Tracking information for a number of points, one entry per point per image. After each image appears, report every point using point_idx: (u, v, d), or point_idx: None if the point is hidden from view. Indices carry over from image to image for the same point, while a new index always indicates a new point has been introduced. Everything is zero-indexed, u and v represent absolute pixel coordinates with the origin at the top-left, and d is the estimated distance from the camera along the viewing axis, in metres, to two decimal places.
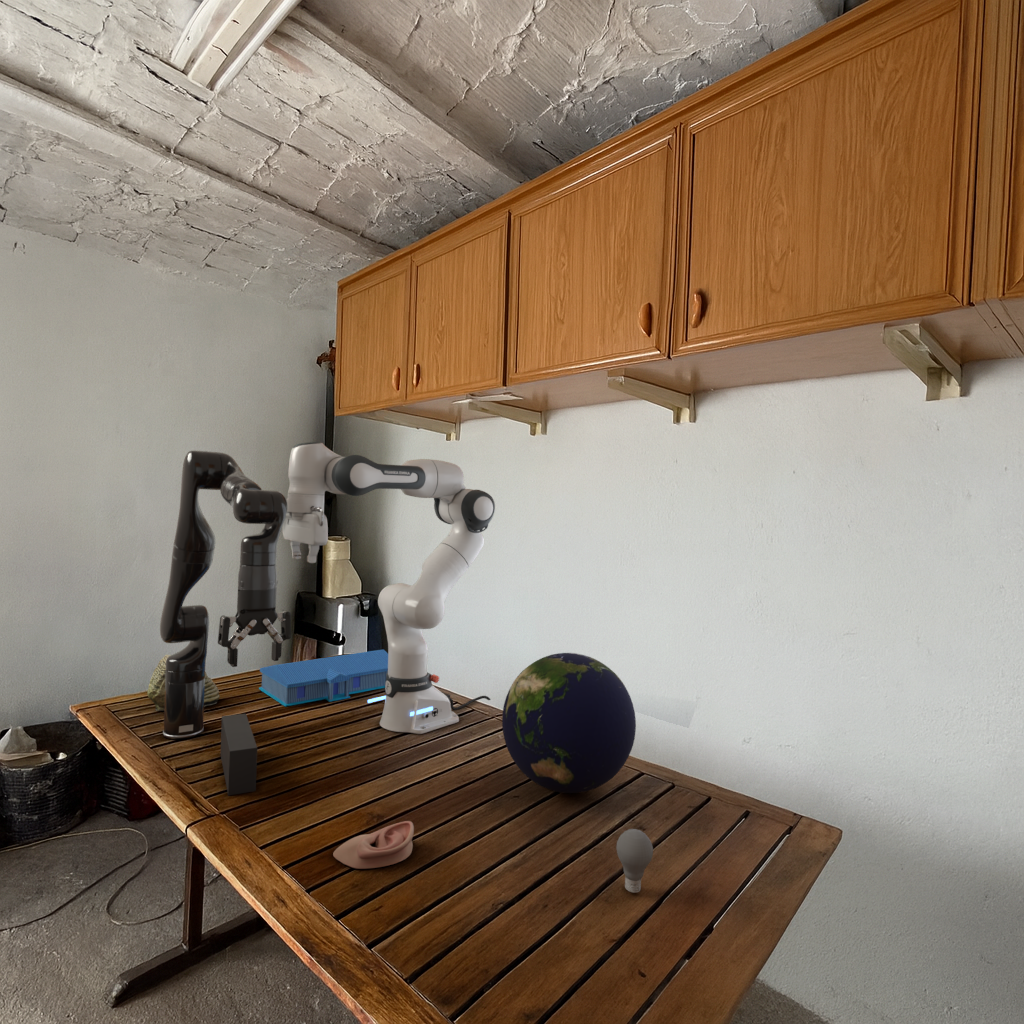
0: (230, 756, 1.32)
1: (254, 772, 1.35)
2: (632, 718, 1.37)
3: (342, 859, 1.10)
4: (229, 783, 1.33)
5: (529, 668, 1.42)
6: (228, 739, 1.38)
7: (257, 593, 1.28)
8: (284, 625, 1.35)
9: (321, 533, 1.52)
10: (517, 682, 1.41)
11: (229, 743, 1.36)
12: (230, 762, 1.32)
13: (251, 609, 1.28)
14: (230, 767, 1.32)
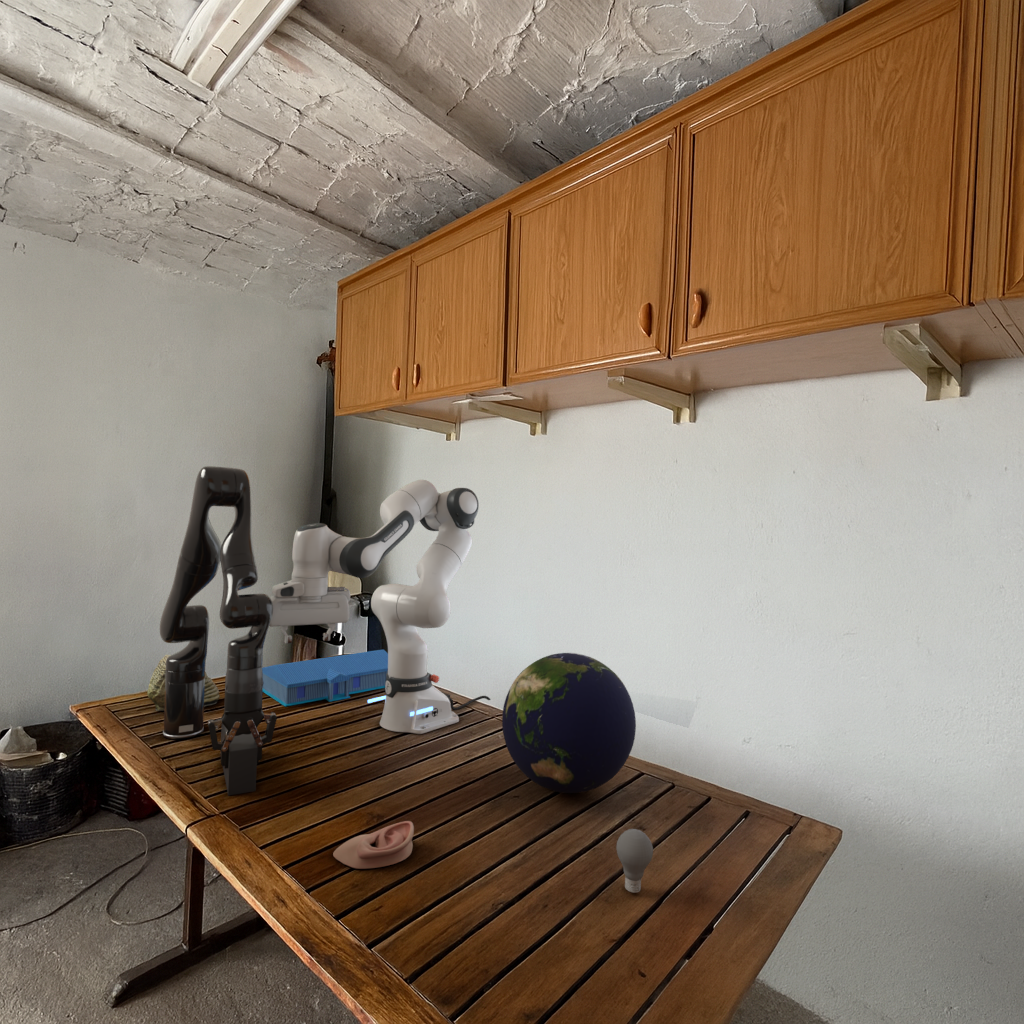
0: (230, 756, 1.32)
1: (254, 772, 1.35)
2: (632, 718, 1.37)
3: (342, 859, 1.10)
4: (229, 783, 1.33)
5: (529, 668, 1.42)
6: None
7: (239, 697, 1.33)
8: (268, 728, 1.38)
9: None
10: (517, 682, 1.41)
11: None
12: (230, 762, 1.32)
13: (233, 712, 1.33)
14: (230, 767, 1.32)
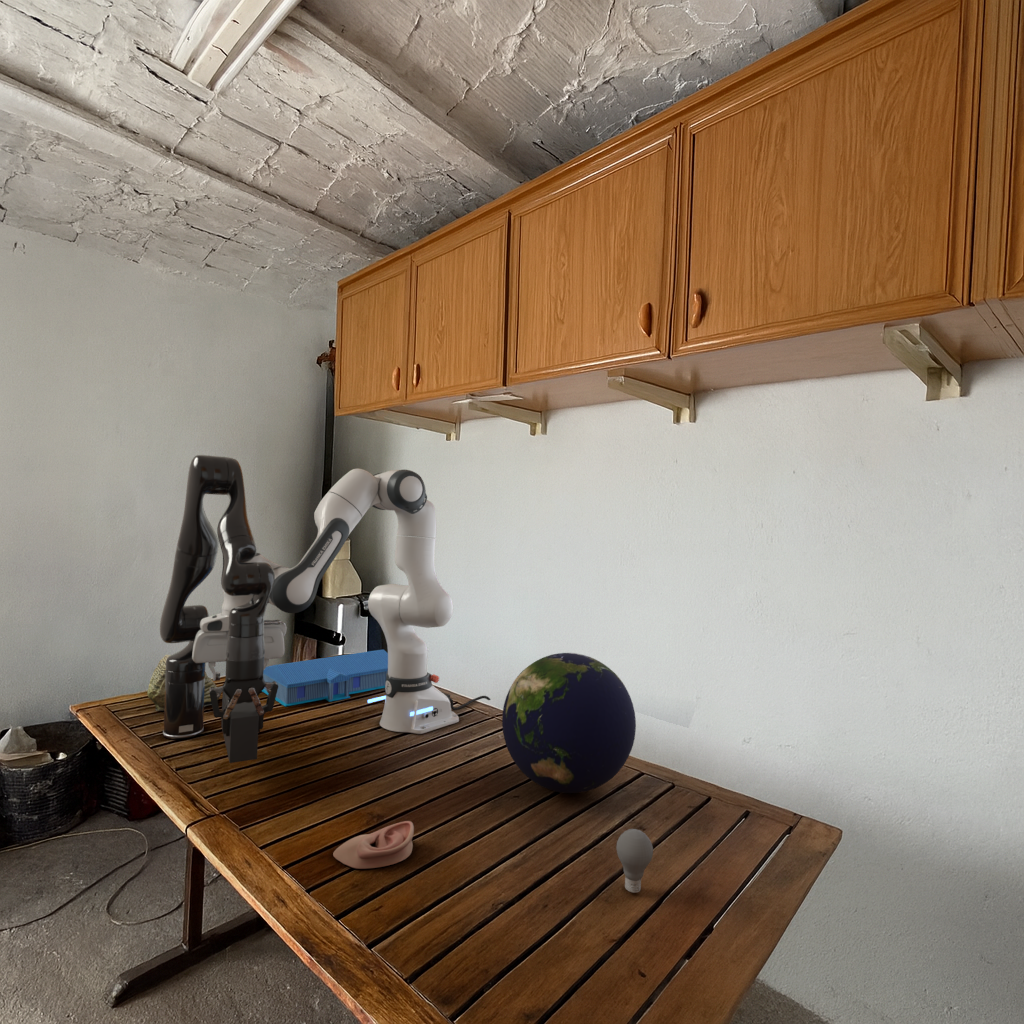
0: (231, 723, 1.32)
1: (255, 740, 1.35)
2: (632, 718, 1.37)
3: (342, 859, 1.10)
4: (230, 750, 1.32)
5: (529, 668, 1.42)
6: None
7: (240, 664, 1.32)
8: (269, 696, 1.38)
9: None
10: (517, 682, 1.41)
11: None
12: (231, 729, 1.32)
13: (234, 679, 1.32)
14: (231, 734, 1.32)
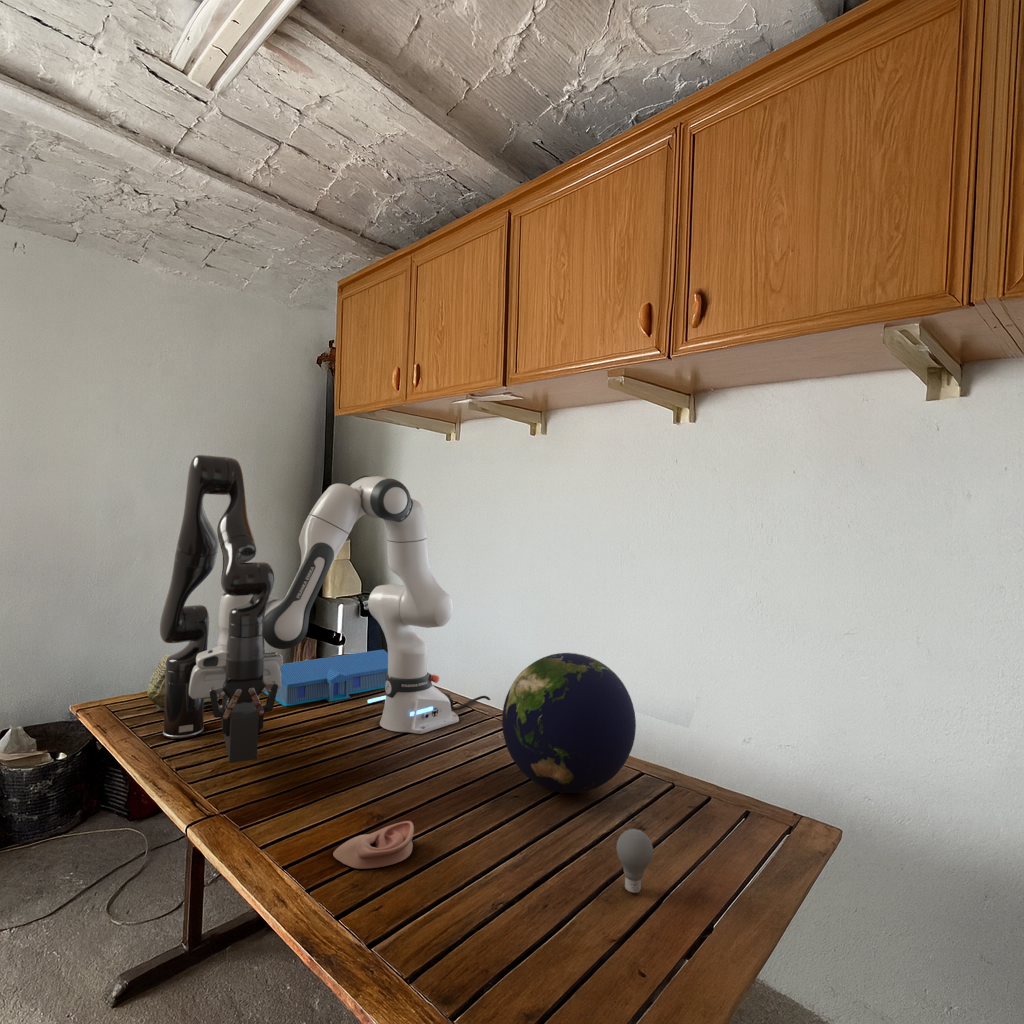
0: (231, 724, 1.32)
1: (255, 740, 1.35)
2: (632, 718, 1.37)
3: (342, 859, 1.10)
4: (230, 751, 1.32)
5: (529, 668, 1.42)
6: None
7: (240, 664, 1.32)
8: (269, 696, 1.38)
9: None
10: (517, 682, 1.41)
11: None
12: (231, 730, 1.32)
13: (234, 679, 1.33)
14: (231, 735, 1.32)
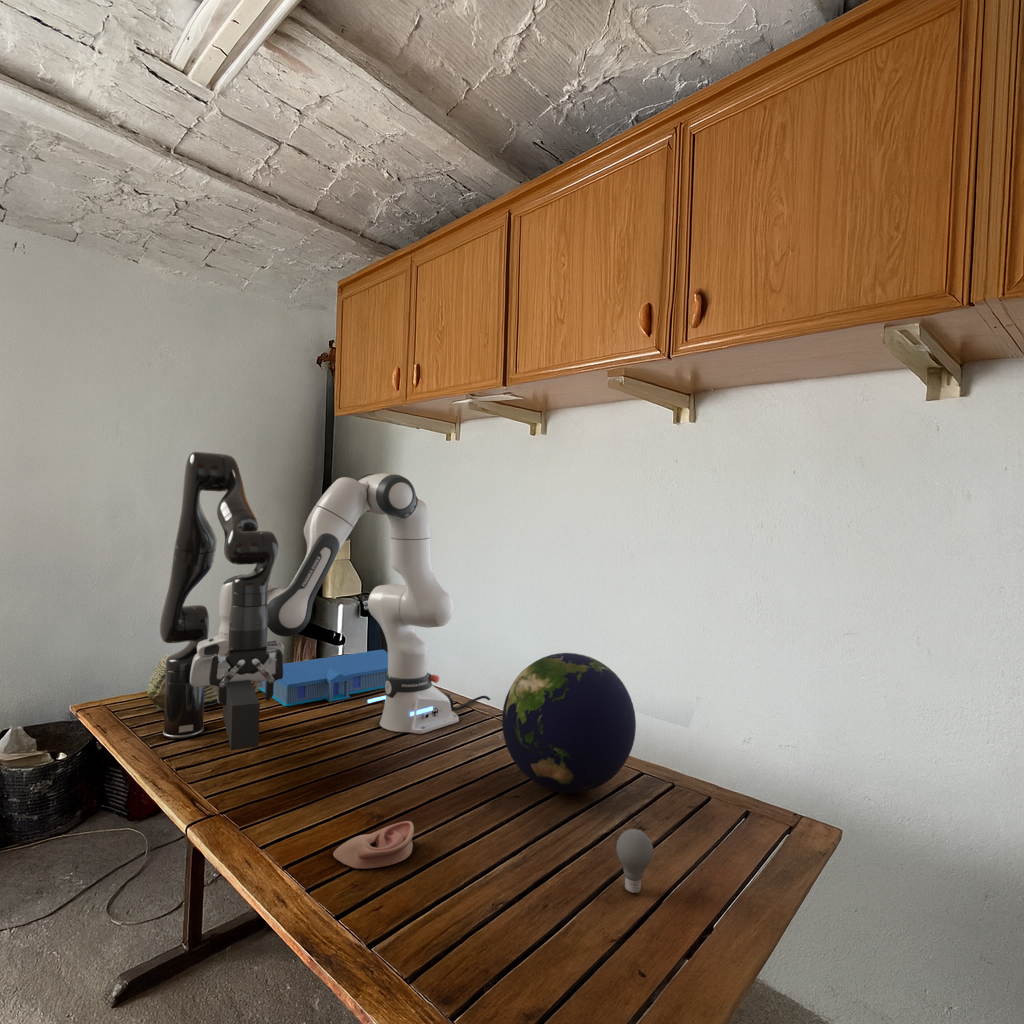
0: (233, 711, 1.32)
1: (257, 727, 1.35)
2: (632, 718, 1.37)
3: (342, 859, 1.10)
4: (232, 738, 1.33)
5: (529, 668, 1.42)
6: (230, 696, 1.38)
7: (243, 634, 1.30)
8: (276, 665, 1.36)
9: None
10: (517, 682, 1.41)
11: (231, 699, 1.36)
12: (233, 717, 1.32)
13: (237, 649, 1.30)
14: (233, 722, 1.32)
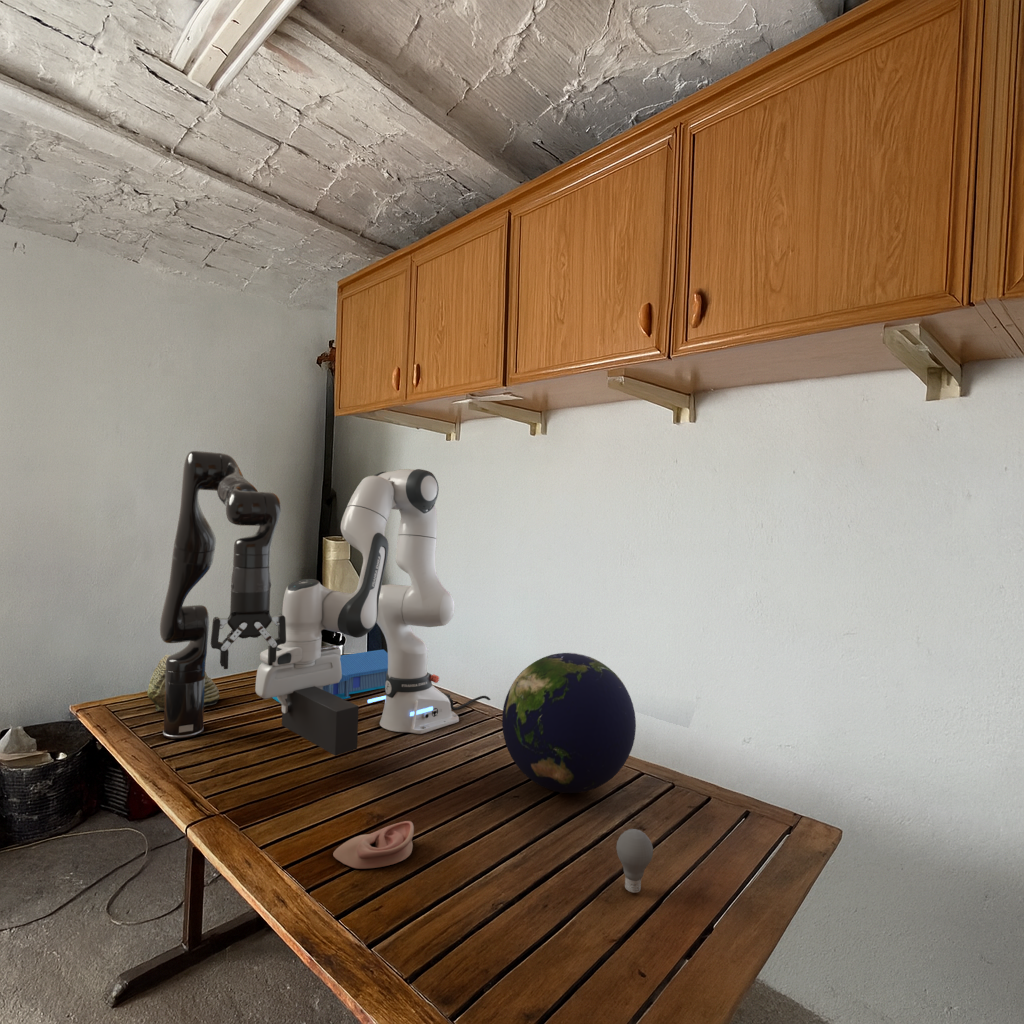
0: (337, 716, 1.32)
1: (356, 730, 1.36)
2: (632, 718, 1.37)
3: (342, 859, 1.10)
4: (336, 743, 1.33)
5: (529, 668, 1.42)
6: (320, 702, 1.37)
7: (246, 596, 1.27)
8: (279, 629, 1.33)
9: None
10: (517, 682, 1.41)
11: (326, 705, 1.35)
12: (337, 722, 1.32)
13: (240, 612, 1.27)
14: (337, 727, 1.32)
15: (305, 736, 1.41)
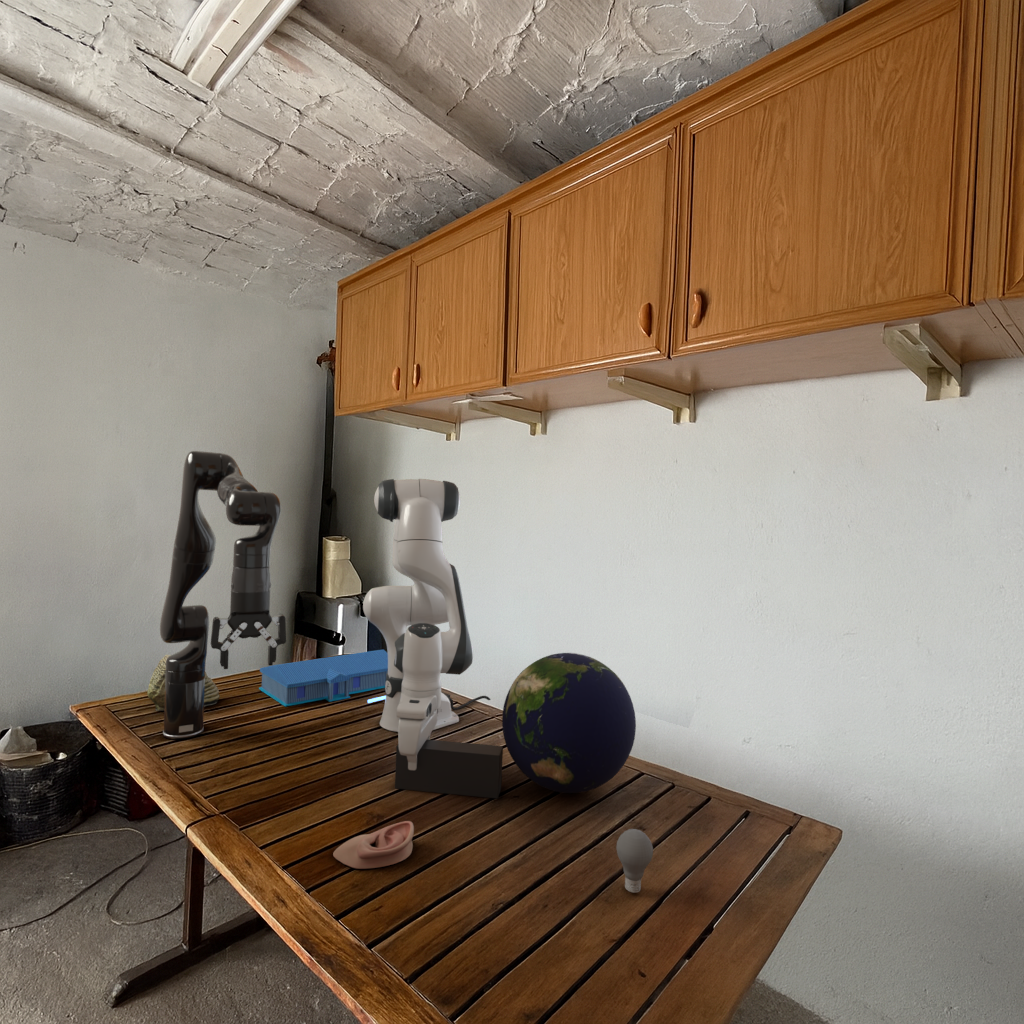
0: (499, 760, 1.36)
1: None
2: (632, 718, 1.37)
3: (342, 859, 1.10)
4: (498, 786, 1.36)
5: (529, 668, 1.42)
6: (468, 752, 1.37)
7: (246, 596, 1.27)
8: (279, 629, 1.33)
9: None
10: (517, 682, 1.41)
11: (479, 753, 1.37)
12: (499, 766, 1.36)
13: (240, 612, 1.27)
14: (499, 770, 1.36)
15: (442, 790, 1.38)
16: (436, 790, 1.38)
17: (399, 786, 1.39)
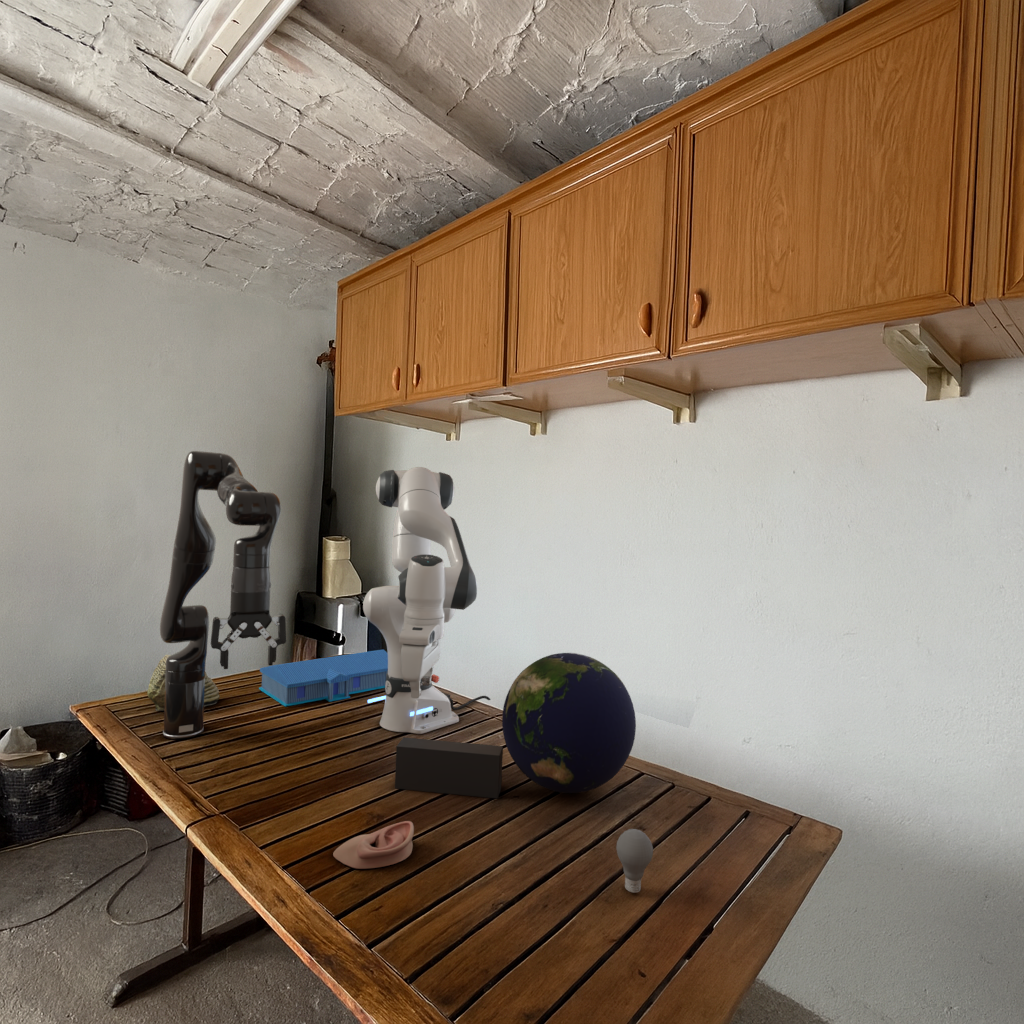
0: (499, 760, 1.36)
1: None
2: (632, 718, 1.37)
3: (342, 859, 1.10)
4: (498, 786, 1.36)
5: (529, 668, 1.42)
6: (468, 752, 1.37)
7: (246, 596, 1.27)
8: (279, 629, 1.33)
9: None
10: (517, 682, 1.41)
11: (479, 753, 1.37)
12: (499, 766, 1.36)
13: (240, 612, 1.27)
14: (499, 770, 1.36)
15: (442, 790, 1.38)
16: (436, 790, 1.38)
17: (399, 786, 1.39)
